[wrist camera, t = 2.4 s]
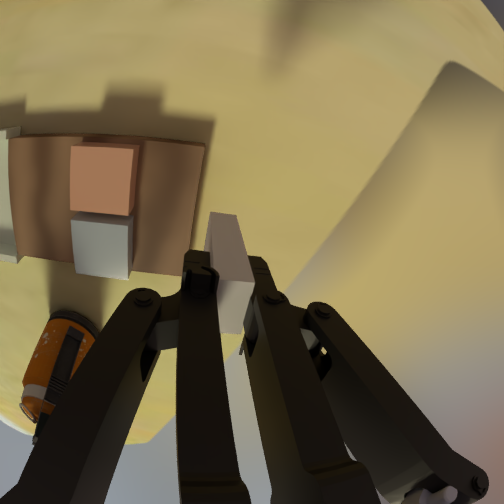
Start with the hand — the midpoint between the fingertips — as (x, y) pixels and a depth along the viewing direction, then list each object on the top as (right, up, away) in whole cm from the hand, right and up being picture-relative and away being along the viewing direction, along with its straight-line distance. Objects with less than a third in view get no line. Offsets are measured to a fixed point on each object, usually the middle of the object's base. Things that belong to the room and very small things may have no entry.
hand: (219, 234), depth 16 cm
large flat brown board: (-15, +5, +10) cm, 18 cm away
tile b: (-13, 0, +10) cm, 17 cm away
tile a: (-12, +6, +7) cm, 15 cm away
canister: (-24, -12, +18) cm, 32 cm away
